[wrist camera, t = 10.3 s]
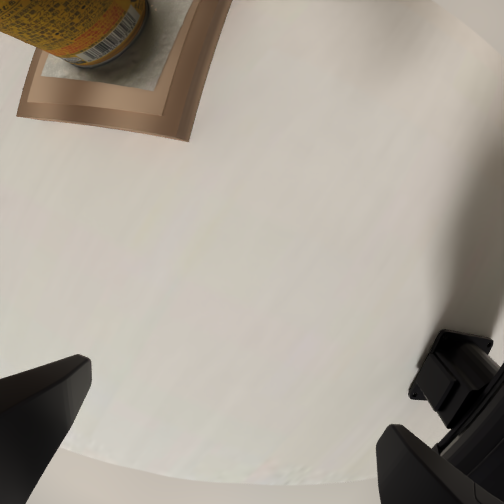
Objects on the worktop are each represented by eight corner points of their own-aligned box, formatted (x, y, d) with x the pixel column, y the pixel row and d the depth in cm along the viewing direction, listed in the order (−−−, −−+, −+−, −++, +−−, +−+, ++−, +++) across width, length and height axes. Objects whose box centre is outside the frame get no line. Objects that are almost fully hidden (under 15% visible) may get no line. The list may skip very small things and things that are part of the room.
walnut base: (238, -17, 16) (234, -42, 13) (188, 141, 19) (174, 136, 16) (90, -19, 16) (72, -36, 13) (41, 120, 19) (13, 115, 15)
